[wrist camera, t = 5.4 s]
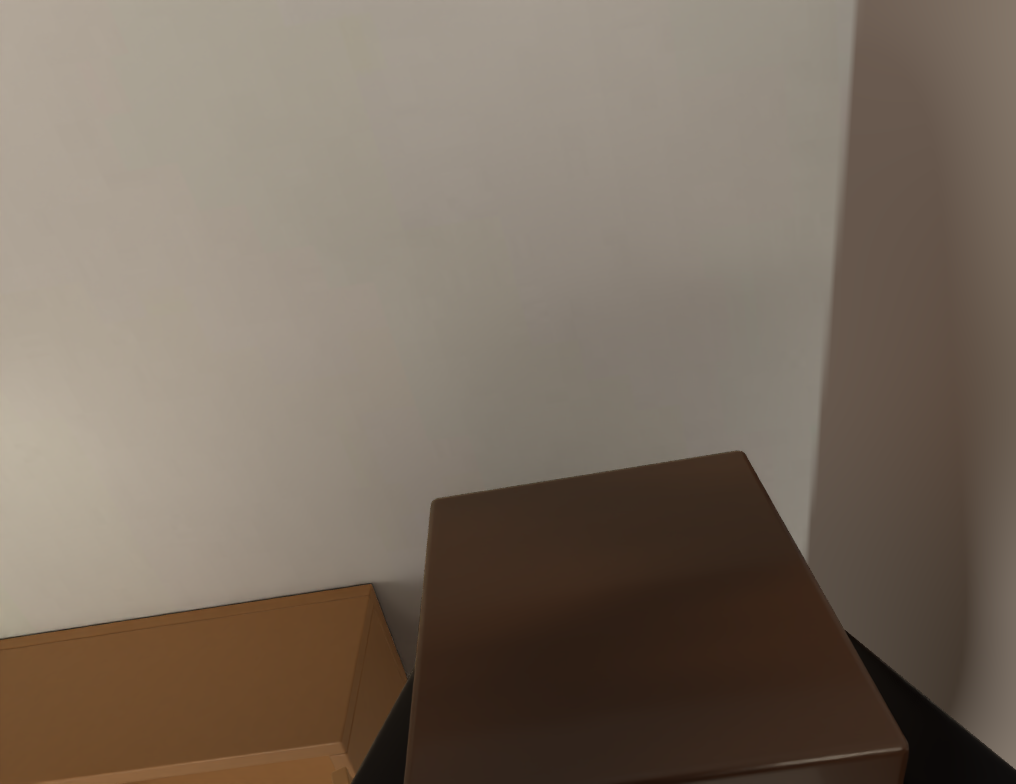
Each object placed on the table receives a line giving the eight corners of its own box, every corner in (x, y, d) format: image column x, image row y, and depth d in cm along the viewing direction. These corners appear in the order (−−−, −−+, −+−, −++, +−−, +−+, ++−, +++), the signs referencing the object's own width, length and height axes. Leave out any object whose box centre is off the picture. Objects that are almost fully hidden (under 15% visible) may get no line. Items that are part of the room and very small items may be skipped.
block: (744, 445, 9) (916, 747, 5) (745, 659, 11) (871, 979, 7) (428, 496, 9) (395, 816, 6) (487, 696, 11) (490, 1024, 8)
